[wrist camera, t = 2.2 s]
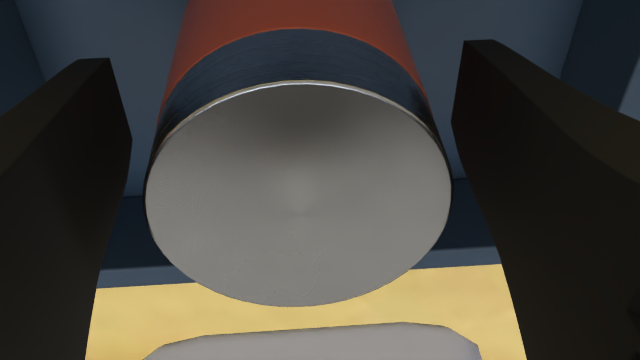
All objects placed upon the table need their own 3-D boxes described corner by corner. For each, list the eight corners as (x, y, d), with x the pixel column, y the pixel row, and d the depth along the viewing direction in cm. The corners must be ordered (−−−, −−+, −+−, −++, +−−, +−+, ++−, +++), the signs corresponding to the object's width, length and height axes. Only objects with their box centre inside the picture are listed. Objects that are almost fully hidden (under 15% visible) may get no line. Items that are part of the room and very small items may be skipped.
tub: (743, -456, 10) (916, -500, 7) (543, 178, 20) (586, 260, 17) (-186, -442, 10) (-366, -486, 7) (76, 204, 19) (44, 292, 16)
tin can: (414, -65, 14) (505, 105, 8) (362, 113, 17) (404, 316, 12) (193, -106, 13) (139, 56, 7) (183, 90, 16) (140, 299, 11)
